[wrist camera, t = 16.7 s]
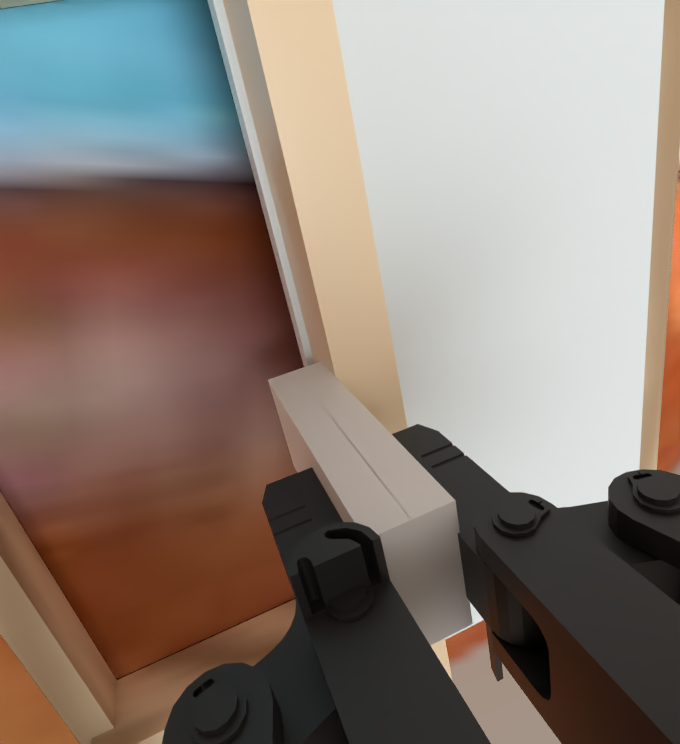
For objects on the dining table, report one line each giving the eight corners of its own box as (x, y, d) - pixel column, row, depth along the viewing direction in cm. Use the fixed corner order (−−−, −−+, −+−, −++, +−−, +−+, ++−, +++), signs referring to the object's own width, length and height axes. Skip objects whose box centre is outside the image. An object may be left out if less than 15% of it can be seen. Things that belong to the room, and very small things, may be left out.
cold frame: (98, 712, 20) (91, 791, 18) (-388, -11, 10) (-574, -79, 8) (602, 476, 26) (653, 509, 24) (613, -125, 16) (703, -184, 14)
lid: (380, 656, 20) (410, 718, 18) (167, -151, 10) (174, -251, 8) (624, 533, 23) (677, 572, 21) (653, -188, 13) (765, -270, 10)
